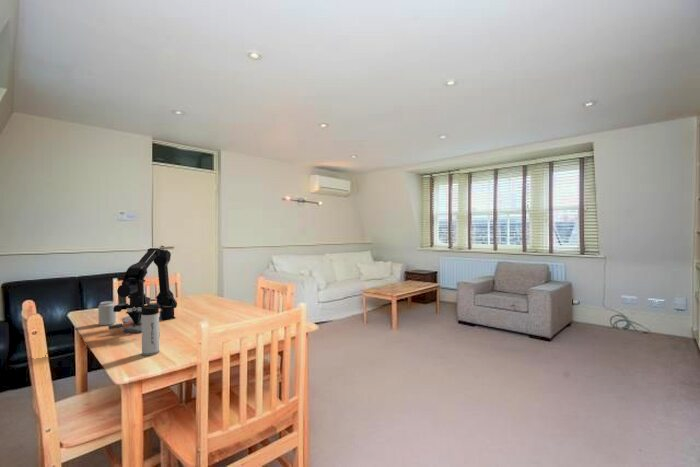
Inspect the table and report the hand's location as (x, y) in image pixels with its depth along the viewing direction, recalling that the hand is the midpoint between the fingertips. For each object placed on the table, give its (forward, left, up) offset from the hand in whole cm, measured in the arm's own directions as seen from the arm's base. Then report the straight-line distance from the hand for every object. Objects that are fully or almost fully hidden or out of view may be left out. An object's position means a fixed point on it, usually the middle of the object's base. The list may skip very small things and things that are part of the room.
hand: (137, 325), depth 163 cm
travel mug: (+3, +29, -5) cm, 30 cm away
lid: (-2, -9, 0) cm, 9 cm away
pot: (-2, -11, -5) cm, 12 cm away
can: (+5, -34, -5) cm, 35 cm away
